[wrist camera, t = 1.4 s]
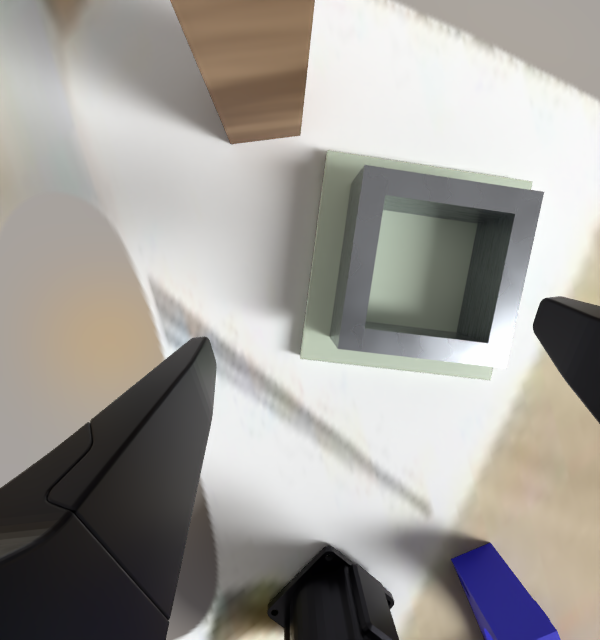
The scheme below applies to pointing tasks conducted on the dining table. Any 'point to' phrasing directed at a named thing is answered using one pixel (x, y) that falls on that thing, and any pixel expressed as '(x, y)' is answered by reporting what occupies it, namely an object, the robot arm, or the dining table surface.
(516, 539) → the dining table surface
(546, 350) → the robot arm
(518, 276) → the steel collar
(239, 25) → the walnut post
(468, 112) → the dining table surface
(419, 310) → the base plate
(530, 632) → the cable clip
